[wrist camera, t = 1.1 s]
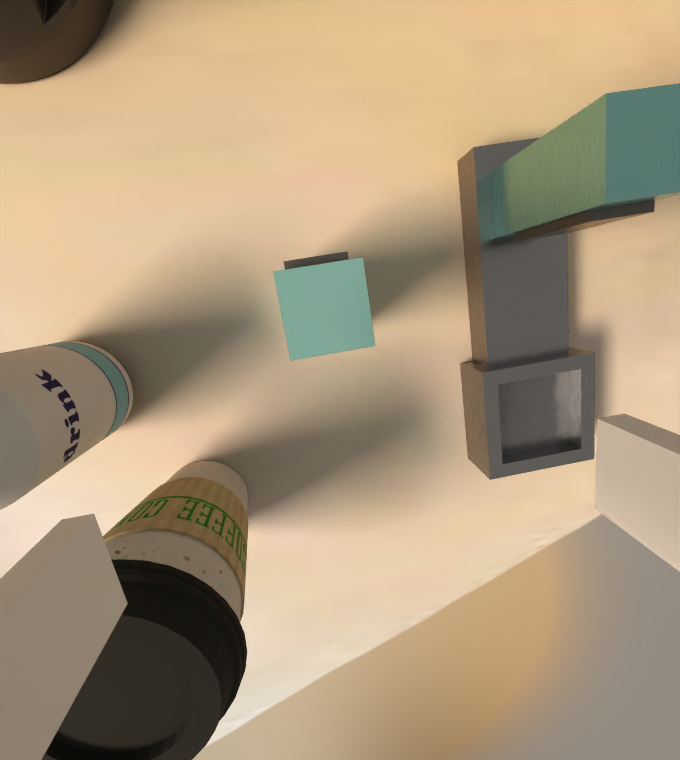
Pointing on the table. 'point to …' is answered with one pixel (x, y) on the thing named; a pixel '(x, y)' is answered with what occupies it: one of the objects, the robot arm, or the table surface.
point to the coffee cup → (168, 625)
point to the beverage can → (55, 410)
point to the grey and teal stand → (549, 269)
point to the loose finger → (324, 305)
